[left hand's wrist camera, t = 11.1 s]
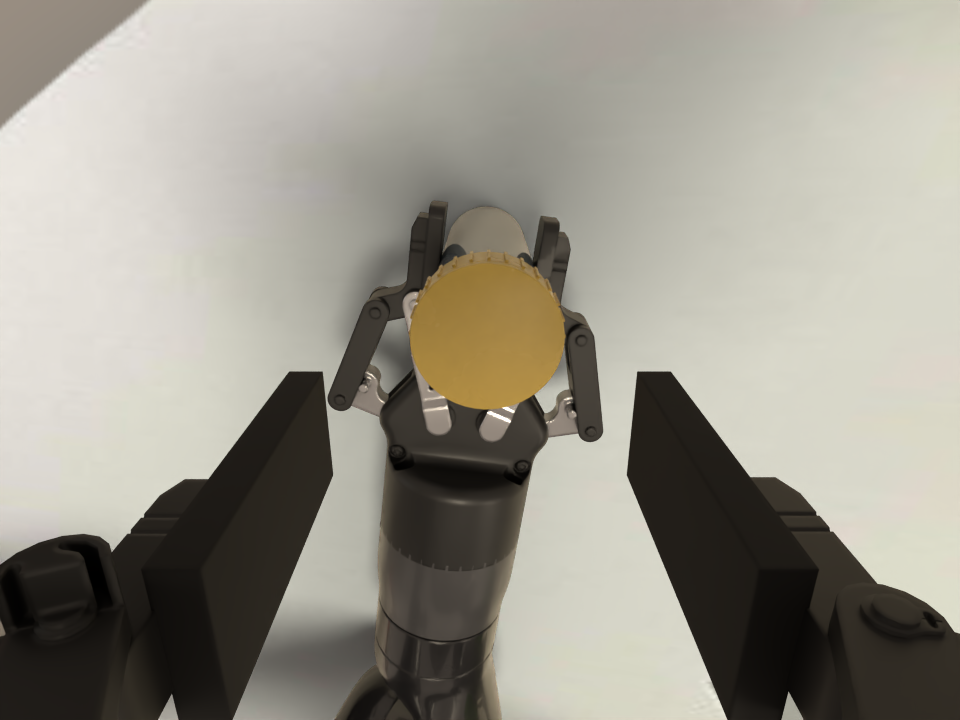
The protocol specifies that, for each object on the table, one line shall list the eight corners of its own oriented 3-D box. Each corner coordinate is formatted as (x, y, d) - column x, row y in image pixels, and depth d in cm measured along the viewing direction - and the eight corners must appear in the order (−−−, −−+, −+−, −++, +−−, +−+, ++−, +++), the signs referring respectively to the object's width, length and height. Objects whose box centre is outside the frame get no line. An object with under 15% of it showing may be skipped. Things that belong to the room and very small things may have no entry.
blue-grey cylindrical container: (451, 287, 35) (429, 400, 21) (442, 210, 33) (412, 277, 19) (527, 280, 35) (556, 389, 21) (522, 202, 33) (549, 264, 19)
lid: (423, 394, 22) (418, 417, 21) (404, 256, 21) (396, 269, 19) (563, 383, 22) (570, 405, 21) (556, 242, 20) (563, 253, 19)
